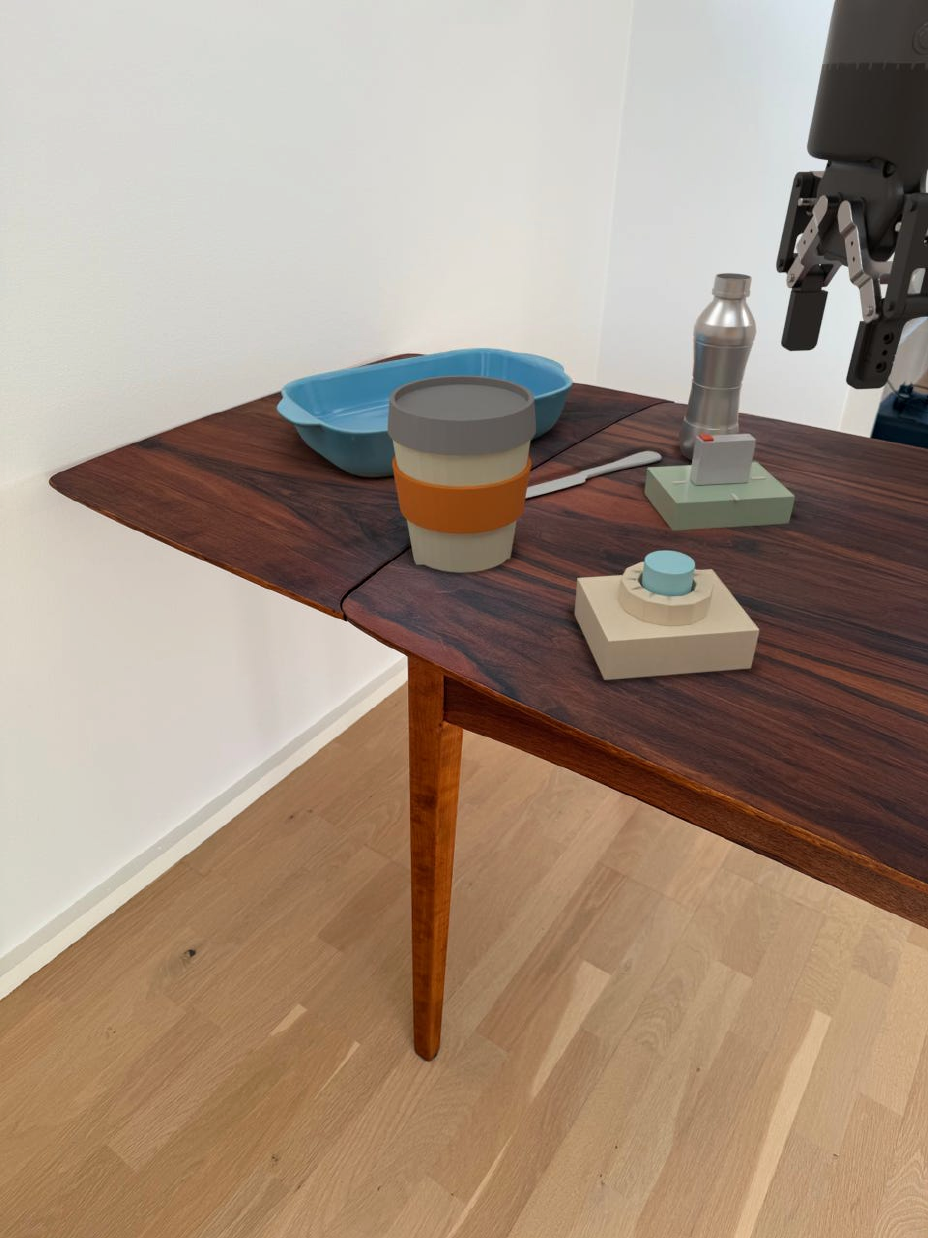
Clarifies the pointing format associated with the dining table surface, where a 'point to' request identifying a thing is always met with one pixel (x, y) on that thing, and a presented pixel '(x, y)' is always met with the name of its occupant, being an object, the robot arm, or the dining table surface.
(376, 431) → the casserole dish
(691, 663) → the beige button housing
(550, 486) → the butter knife
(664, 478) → the panel
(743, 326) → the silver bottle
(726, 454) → the tap knob
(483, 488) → the reusable coffee cup
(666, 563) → the light blue puck
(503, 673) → the dining table surface
